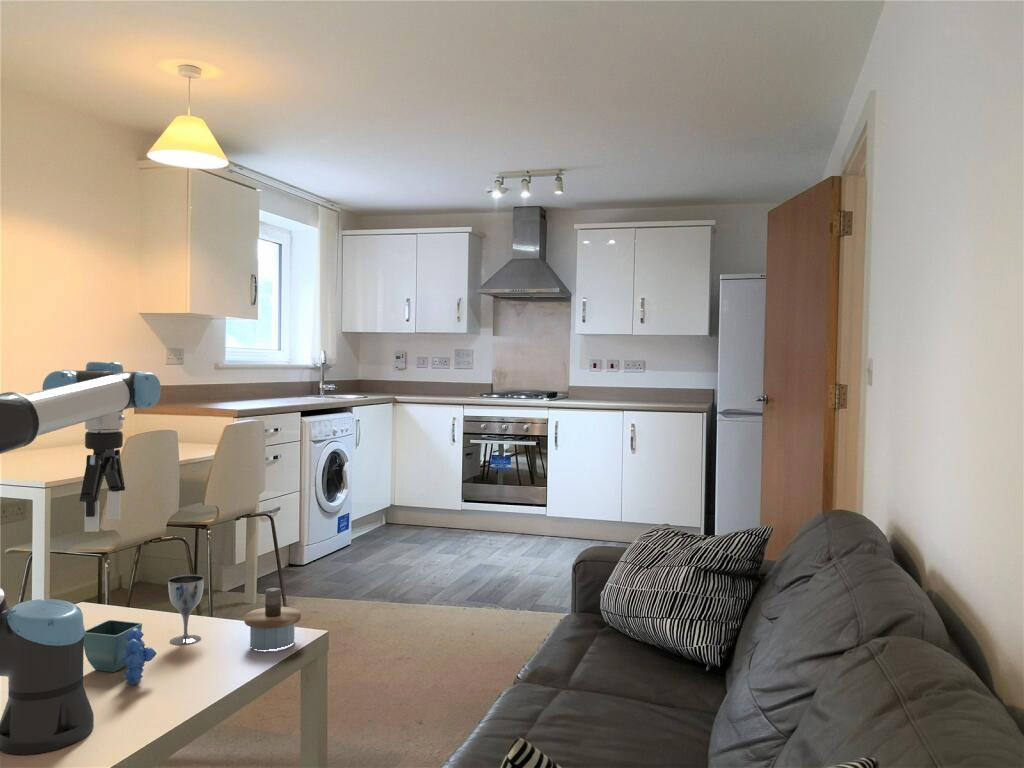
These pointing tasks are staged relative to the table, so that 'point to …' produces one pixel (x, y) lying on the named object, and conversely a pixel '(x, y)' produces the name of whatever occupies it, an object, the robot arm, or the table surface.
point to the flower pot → (108, 644)
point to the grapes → (136, 656)
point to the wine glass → (185, 602)
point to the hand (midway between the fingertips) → (103, 525)
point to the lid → (272, 613)
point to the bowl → (271, 637)
